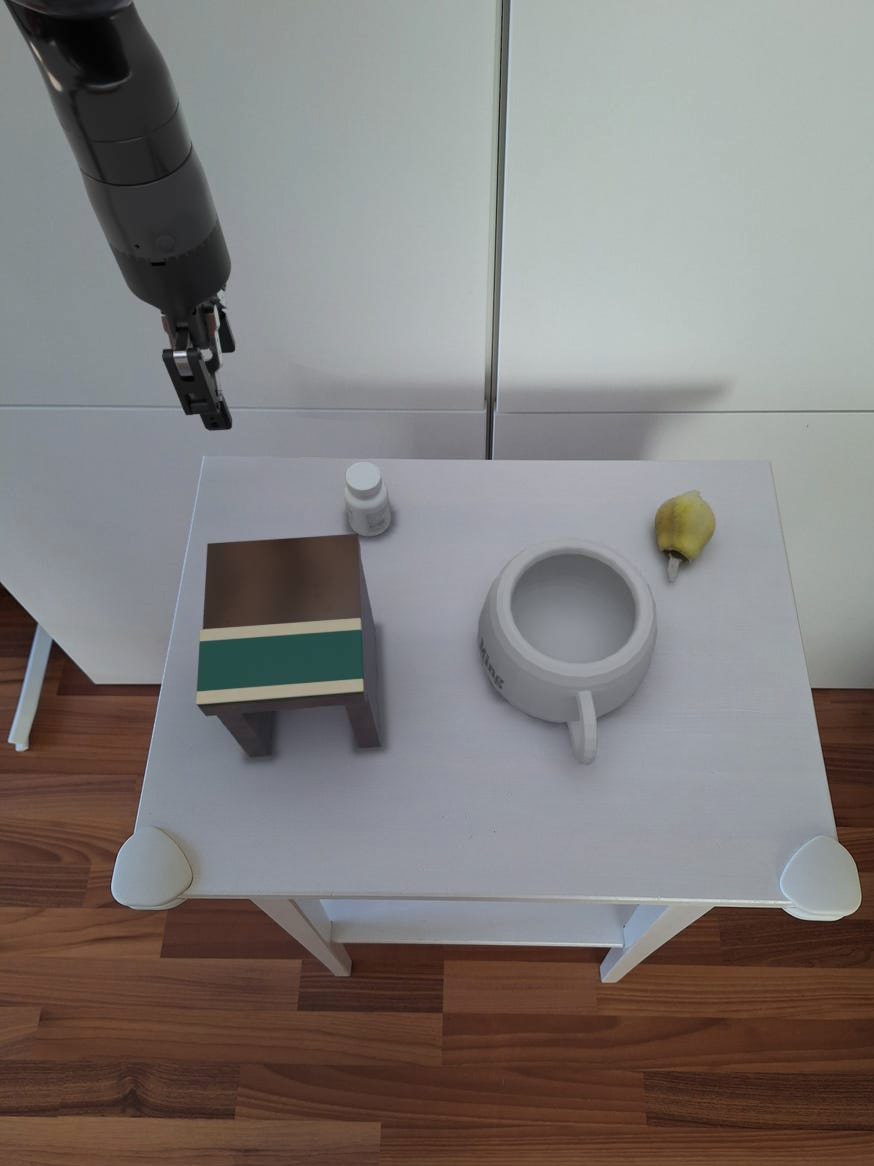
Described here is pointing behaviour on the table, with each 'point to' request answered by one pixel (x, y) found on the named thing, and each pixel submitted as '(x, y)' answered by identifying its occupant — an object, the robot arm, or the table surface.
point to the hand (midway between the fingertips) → (222, 387)
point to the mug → (568, 634)
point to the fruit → (683, 528)
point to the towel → (280, 662)
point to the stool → (292, 619)
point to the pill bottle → (366, 499)
